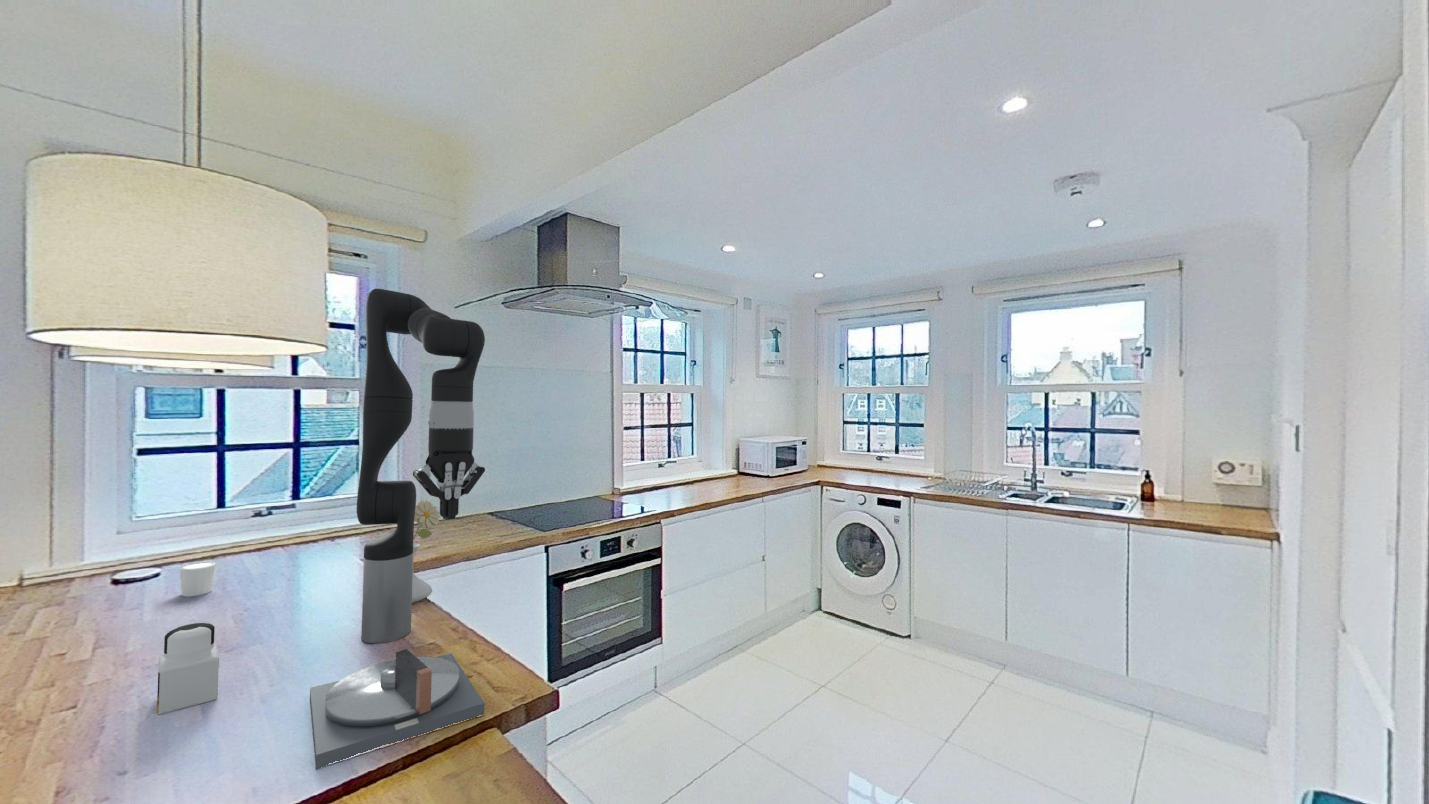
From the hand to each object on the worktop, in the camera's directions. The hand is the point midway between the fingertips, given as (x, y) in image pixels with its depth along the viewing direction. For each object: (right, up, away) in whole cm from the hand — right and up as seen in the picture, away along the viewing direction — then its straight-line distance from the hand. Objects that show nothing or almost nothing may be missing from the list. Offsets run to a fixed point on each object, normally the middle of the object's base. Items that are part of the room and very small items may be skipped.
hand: (449, 518), depth 101 cm
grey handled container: (-39, -28, -10) cm, 49 cm away
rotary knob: (-2, -26, -12) cm, 29 cm away
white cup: (-84, -28, +39) cm, 97 cm away
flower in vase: (-28, -29, +38) cm, 55 cm away
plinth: (-3, -29, -11) cm, 31 cm away
